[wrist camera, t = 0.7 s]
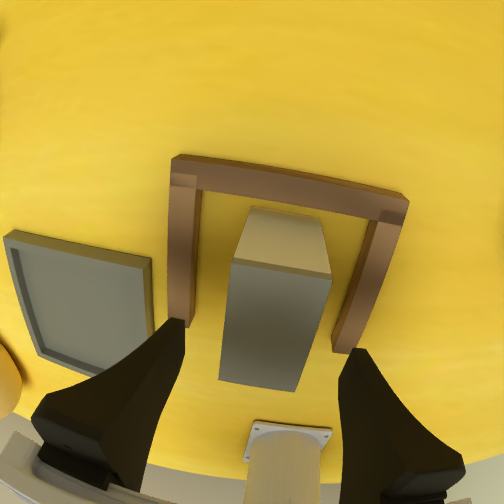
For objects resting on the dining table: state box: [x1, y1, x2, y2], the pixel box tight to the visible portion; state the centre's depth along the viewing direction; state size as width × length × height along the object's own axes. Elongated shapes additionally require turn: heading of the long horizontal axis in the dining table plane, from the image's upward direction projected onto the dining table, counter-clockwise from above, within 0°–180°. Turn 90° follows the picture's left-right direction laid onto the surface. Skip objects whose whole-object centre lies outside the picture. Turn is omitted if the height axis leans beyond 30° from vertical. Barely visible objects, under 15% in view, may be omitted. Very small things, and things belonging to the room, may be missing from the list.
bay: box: [167, 154, 410, 354], centre depth 19 cm, size 11×13×2 cm
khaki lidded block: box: [218, 206, 333, 392], centre depth 17 cm, size 7×4×7 cm, turn 172°
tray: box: [3, 230, 155, 377], centre depth 24 cm, size 14×14×2 cm
